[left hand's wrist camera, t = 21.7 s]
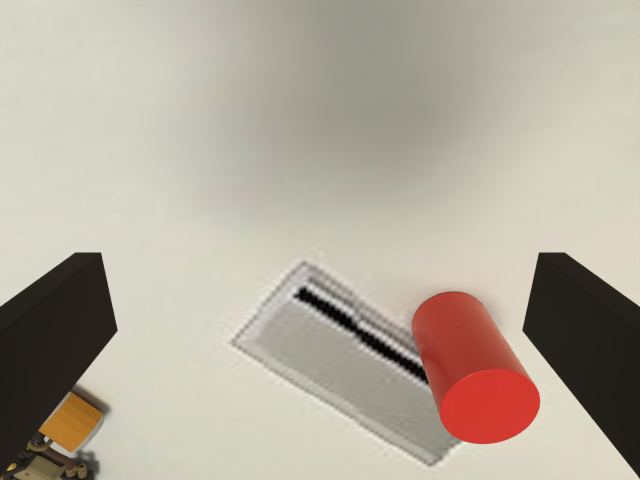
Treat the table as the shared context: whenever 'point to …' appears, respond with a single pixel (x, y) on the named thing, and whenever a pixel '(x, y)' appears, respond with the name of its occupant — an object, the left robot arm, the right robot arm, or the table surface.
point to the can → (472, 371)
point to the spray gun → (66, 430)
